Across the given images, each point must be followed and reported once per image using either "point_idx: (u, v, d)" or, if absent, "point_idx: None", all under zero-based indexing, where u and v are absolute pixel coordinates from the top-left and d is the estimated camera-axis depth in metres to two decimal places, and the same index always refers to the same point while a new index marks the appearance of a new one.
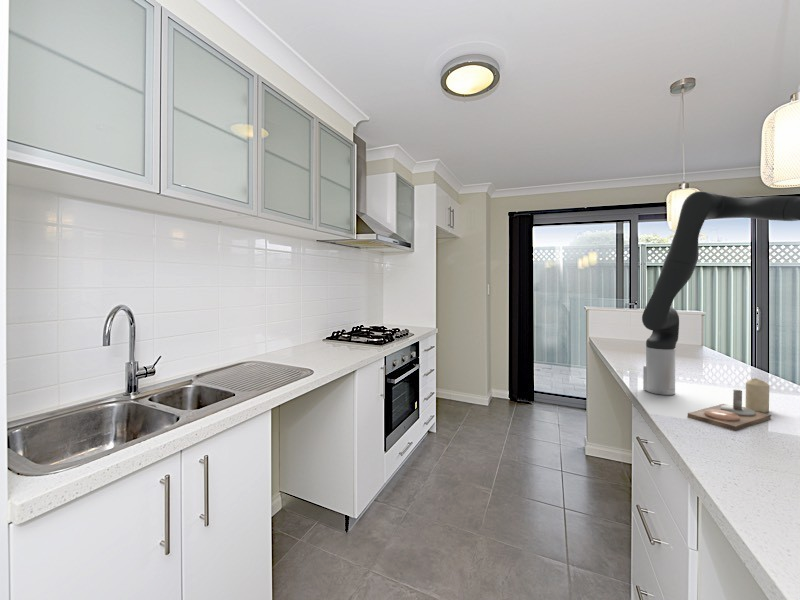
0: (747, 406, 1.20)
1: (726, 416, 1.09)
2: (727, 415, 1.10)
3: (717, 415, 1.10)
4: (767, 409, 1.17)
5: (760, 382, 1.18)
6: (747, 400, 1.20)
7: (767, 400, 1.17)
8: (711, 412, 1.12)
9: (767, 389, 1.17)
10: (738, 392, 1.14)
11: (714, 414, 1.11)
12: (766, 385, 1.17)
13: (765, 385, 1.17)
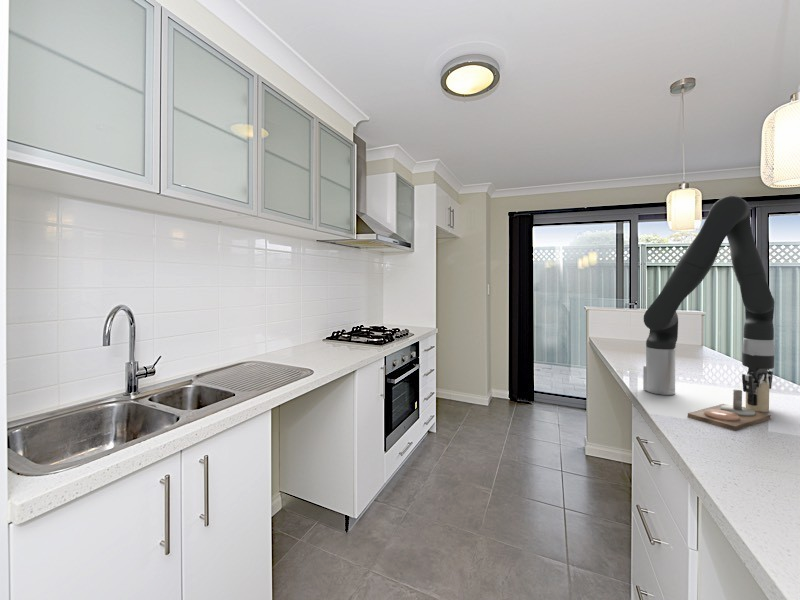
0: (747, 406, 1.20)
1: (726, 416, 1.09)
2: (727, 415, 1.10)
3: (717, 415, 1.10)
4: (767, 409, 1.17)
5: None
6: None
7: (767, 400, 1.17)
8: (711, 412, 1.12)
9: (767, 389, 1.17)
10: (738, 392, 1.14)
11: (714, 414, 1.11)
12: (766, 385, 1.17)
13: (765, 385, 1.17)
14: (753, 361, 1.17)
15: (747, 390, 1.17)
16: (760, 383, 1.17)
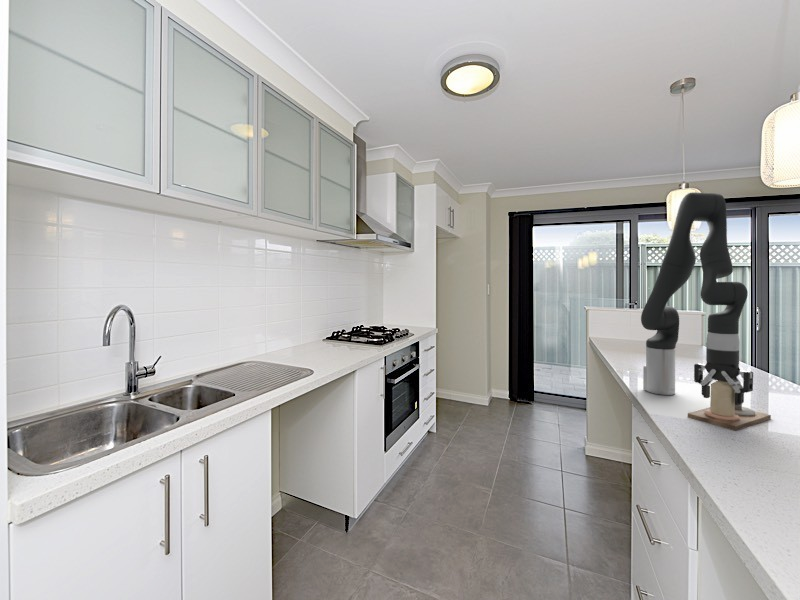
0: None
1: (726, 416, 1.09)
2: None
3: (717, 415, 1.10)
4: (715, 411, 1.10)
5: (715, 382, 1.12)
6: None
7: (715, 401, 1.10)
8: None
9: (715, 390, 1.10)
10: None
11: (714, 414, 1.11)
12: (715, 385, 1.10)
13: (714, 385, 1.11)
14: None
15: None
16: (709, 377, 1.12)
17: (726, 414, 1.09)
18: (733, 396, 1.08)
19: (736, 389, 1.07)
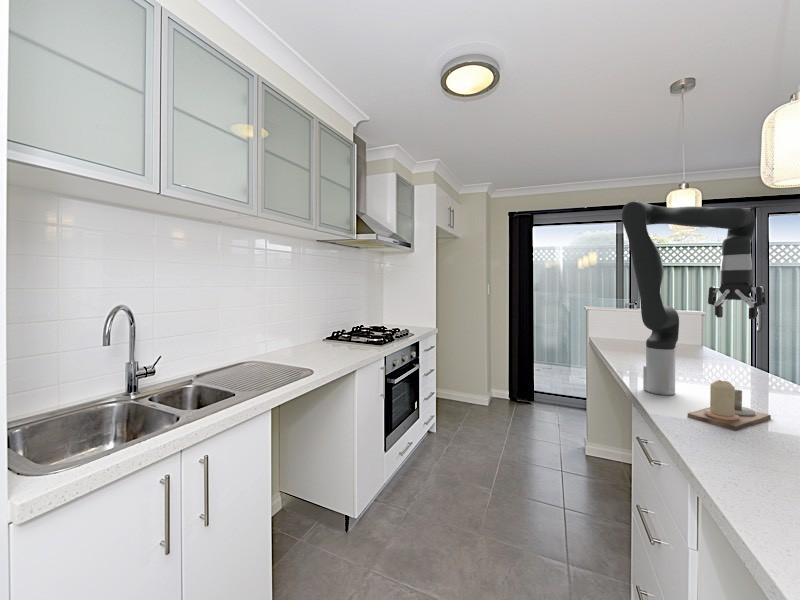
0: None
1: (726, 416, 1.09)
2: None
3: (717, 415, 1.10)
4: (715, 411, 1.10)
5: (714, 382, 1.12)
6: None
7: (715, 401, 1.10)
8: None
9: (714, 390, 1.10)
10: (738, 392, 1.14)
11: (714, 414, 1.11)
12: (715, 385, 1.11)
13: (713, 385, 1.11)
14: None
15: None
16: (723, 297, 1.21)
17: (726, 414, 1.09)
18: (732, 396, 1.08)
19: (750, 304, 1.16)
